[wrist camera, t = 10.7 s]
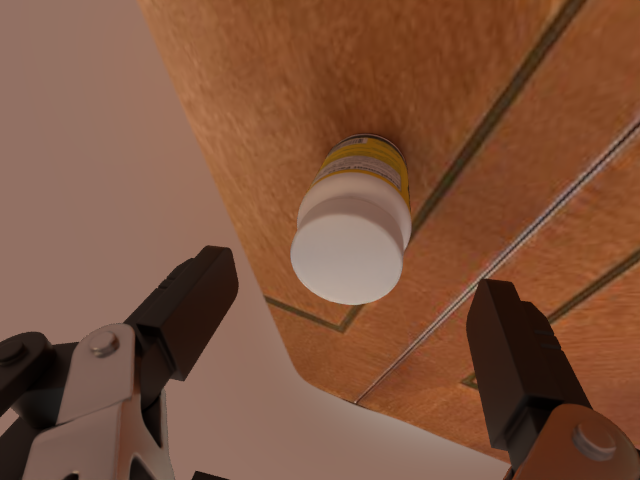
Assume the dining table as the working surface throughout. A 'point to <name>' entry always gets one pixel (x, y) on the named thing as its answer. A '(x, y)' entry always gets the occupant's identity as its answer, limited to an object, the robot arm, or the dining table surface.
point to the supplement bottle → (354, 222)
